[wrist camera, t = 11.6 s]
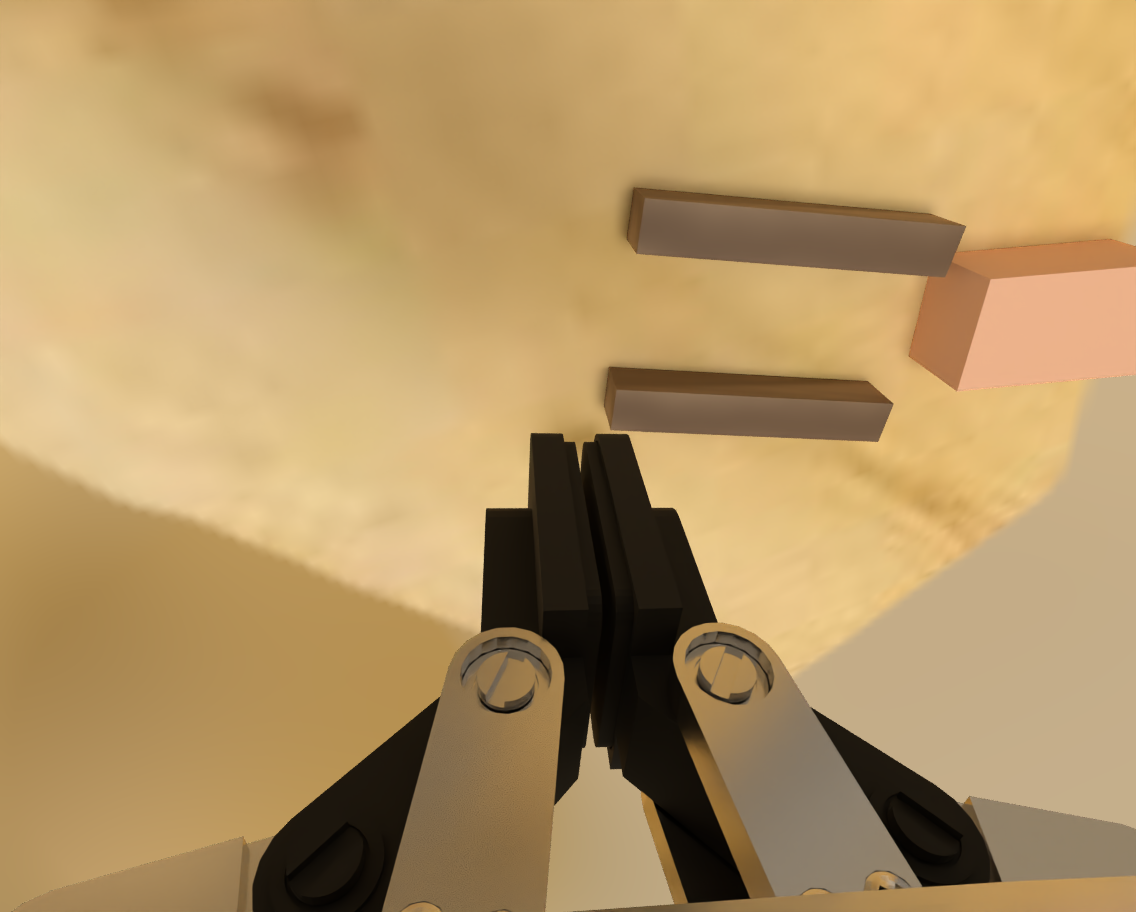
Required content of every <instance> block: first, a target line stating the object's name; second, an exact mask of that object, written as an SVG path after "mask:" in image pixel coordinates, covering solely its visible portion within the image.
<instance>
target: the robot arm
mask: <svg viewBox="0 0 1136 912" xmlns="http://www.w3.org/2000/svg"><path fill="white" fill-rule="evenodd" d="M590 714H591V721H592V730H593V738H594V743H595V746H596V747H607V750H608V757H609V763H610V769H622V774H623V777H624V778H626V779H627V780H628V781H629V782H631V783H632V784H633V785H634V786H636V787H637V788H638V789H639V790H640V791H641V798H642V804H643V809H644V813H645V816H646V819H647V822H648V825H649V828H650V831H651V834H652V837H653V840H654V843H655V846H656V850H657V853H658V855H659V859H660V862H661V865H662V868H663V871H664V874H665V877H666V880H667V883H668V886H669V889H670V892H671V895H672V898H673V902H674V904H673V905H660V906H659V905H658V906H645V907H631V908H618V909H605V910H589V911H575V912H1136V829H1134V828H1131V827H1129V826H1126V825H1123V824H1118V823H1113V822H1107V821H1102V820H1096V819H1091V818H1085V817H1080V816H1074V815H1069V814H1063V813H1058V812H1053V811H1047V810H1042V809H1036V808H1030V807H1026V806H1020V805H1015V804H1009V803H1004V802H998V801H993V800H988V799H982V798H977V797H971V796H969V797H968V799H967V800H966V801H965V802H964V803H959V802H956V801H955V800H954V799H953V798H952V797H950V796H949V795H947V794H946V793H945V792H944V791H942V790H941V789H940V788H938V787H937V786H936V785H934V784H933V783H931V782H930V781H928V780H926V779H925V778H923V777H922V776H920V775H918V774H917V773H915V772H914V771H912V770H910V769H909V768H907V767H906V766H904V765H902V764H901V763H899V762H898V761H896V760H894V759H893V758H891V757H890V756H888V755H886V754H885V753H883V752H882V751H880V750H878V749H877V748H875V747H874V746H872V745H870V744H869V743H867V742H866V741H864V740H862V739H861V738H859V737H857V736H856V735H854V734H853V733H851V732H850V731H848V730H846V729H845V728H843V727H842V726H840V725H838V724H837V723H835V722H834V721H832V720H830V719H829V718H827V717H826V716H824V715H822V714H821V713H819V712H818V711H816V710H815V709H813V708H811V707H810V706H809V704H808V703H807V701H806V700H805V698H804V696H803V695H802V693H801V691H800V690H799V688H798V687H797V685H796V683H795V682H794V680H793V679H792V677H791V675H790V674H789V672H788V671H787V669H786V667H785V666H784V664H783V663H782V661H781V659H780V658H779V656H778V655H777V654H776V653H775V652H774V650H773V649H772V648H771V647H770V646H769V644H767V643H766V642H765V641H763V640H762V639H761V638H759V637H758V636H757V635H755V634H754V633H752V632H749V631H747V630H745V629H743V628H741V627H739V626H734V625H730V624H725V623H718V622H717V619H716V617H715V614H714V611H713V608H712V606H711V603H710V600H709V597H708V595H707V592H706V589H705V586H704V584H703V581H702V578H701V576H700V573H699V570H698V567H697V565H696V562H695V559H694V556H693V554H692V551H691V548H690V545H689V543H688V540H687V537H686V535H685V532H684V529H683V526H682V524H681V521H680V518H679V516H678V514H677V512H676V510H675V509H673V508H651V504H650V501H649V498H648V495H647V492H646V488H645V485H644V482H643V479H642V476H641V473H640V469H639V466H638V463H637V460H636V457H635V453H634V450H633V447H632V444H631V441H630V438H629V435H627V434H596V435H595V439H594V442H584V444H583V450H582V461H581V472H580V468H579V462H578V456H577V450H576V445H575V442H564V438H563V434H553V433H531V438H530V463H529V493H528V508H486V522H485V546H484V570H483V594H482V618H481V633H479V634H478V635H476V636H474V637H472V638H471V639H469V640H467V641H466V642H465V643H464V644H463V645H462V646H461V647H460V648H459V649H458V650H457V652H456V653H455V654H454V657H453V659H452V661H451V663H450V665H449V667H448V671H447V674H446V678H445V682H444V685H443V689H442V693H441V696H440V697H439V698H438V699H437V700H435V701H434V702H433V703H432V704H430V705H429V706H428V707H427V708H426V709H424V710H423V711H422V712H421V713H420V714H418V715H417V716H416V717H415V718H414V719H413V720H411V721H410V722H409V723H407V724H406V725H405V726H404V727H403V728H401V729H400V730H399V731H398V732H396V733H395V734H394V735H393V736H392V737H391V738H389V739H388V740H387V741H386V742H384V743H383V744H382V745H381V746H380V747H378V748H377V749H376V750H375V751H373V752H372V753H371V754H370V755H368V756H367V757H366V758H365V759H364V760H362V761H361V762H360V763H359V764H358V765H357V766H355V767H354V768H353V769H352V770H350V771H349V772H348V773H347V774H346V775H344V776H343V777H342V778H341V779H339V780H338V781H337V782H336V783H334V784H333V785H332V786H331V787H330V788H329V789H327V790H326V791H325V792H324V793H323V794H321V795H320V796H319V797H317V798H316V799H315V800H314V801H313V802H312V803H310V804H309V805H308V806H307V807H305V808H304V809H303V810H302V811H300V812H299V813H298V814H297V815H296V816H294V817H293V818H292V819H291V820H290V821H289V822H288V823H287V824H286V825H285V826H284V827H283V828H282V829H281V830H280V831H279V832H278V833H277V834H276V835H275V836H272V837H269V838H266V839H262V840H259V841H255V842H251V843H248V844H247V843H246V841H245V839H244V837H239V838H236V839H232V840H229V841H225V842H222V843H218V844H214V845H211V846H207V847H204V848H201V849H197V850H193V851H190V852H186V853H183V854H179V855H175V856H172V857H168V858H165V859H161V860H158V861H154V862H151V863H147V864H144V865H140V866H137V867H133V868H129V869H126V870H122V871H119V872H115V873H112V874H108V875H105V876H101V877H98V878H94V879H91V880H87V881H83V882H80V883H76V884H73V885H69V886H66V887H62V888H59V889H55V890H52V891H49V892H47V893H45V894H43V895H40V896H38V897H36V898H34V899H31V900H29V901H27V902H24V903H22V904H21V905H20V906H18V907H17V908H16V909H14V910H13V911H12V912H545V908H546V896H547V884H548V872H549V859H550V848H551V835H552V824H553V812H554V805H555V804H556V803H557V802H558V801H559V800H560V799H561V797H562V796H563V795H564V794H565V793H566V792H567V791H568V789H569V788H570V787H571V786H572V785H573V783H574V782H575V781H576V780H577V779H578V775H579V767H580V759H581V751H582V748H584V747H585V746H586V739H587V732H588V724H589V717H590Z"/></svg>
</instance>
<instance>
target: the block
mask: <svg viewBox="0 0 1136 912" xmlns="http://www.w3.org/2000/svg"><path fill="white" fill-rule="evenodd" d="M909 357H911V358H912V359H913V360H915V361H916V362H918V363H919V364H920V365H922V366H923V367H924V368H926V369H927V370H929V371H930V372H931V373H933V374H934V375H935V376H937V377H938V378H940V379H941V380H942V381H944V382H945V383H946V384H948V385H949V386H951V387H952V388H953V389H955V390H956V391H965V390H976V389H987V388H998V387H1009V386H1019V385H1030V384H1041V383H1052V382H1063V381H1074V380H1084V379H1095V378H1106V377H1117V376H1128V375H1136V246H1133V245H1129V244H1126V243H1122V242H1119V241H1115V240H1112V239H1105V240H1094V241H1082V242H1070V243H1059V244H1047V245H1035V246H1024V247H1012V248H1000V249H989V250H977V251H965V252H955V255H954V257H953V260H952V262H951V265H950V267H949V270H948V272H947V274H946V277H932V276H928V280H927V284H926V288H925V292H924V296H923V300H922V304H921V308H920V312H919V316H918V320H917V324H916V329H915V333H914V337H913V341H912V345H911V349H910V353H909Z"/></svg>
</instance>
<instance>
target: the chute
mask: <svg viewBox="0 0 1136 912" xmlns="http://www.w3.org/2000/svg"><path fill="white" fill-rule="evenodd" d="M965 228H966V226H964V225H961V224H958V223H955V222H952V221H949V220H947V219H944V218H941V217H938V216H935V215H932V214H924V213H913V212H902V211H890V210H879V209H868V208H857V207H845V206H834V205H823V204H812V203H801V202H789V201H778V200H767V199H756V198H744V197H733V196H722V195H711V194H700V193H688V192H677V191H666V190H655V189H644V188H634V191H633V198H632V206H631V213H630V220H629V228H628V235H627V240H628V242H629V243H630V245H631V246H632V248H633V249H634V251H635V252H636V254H645V255H658V256H671V257H685V258H698V259H711V260H724V261H737V262H750V263H763V264H776V265H789V266H802V267H815V268H828V269H841V270H854V271H867V272H880V273H893V274H906V275H919V276H932V277H946V274H947V272H948V270H949V267H950V265H951V262H952V260H953V257H954V255H955V252H956V250H957V248H958V245H959V243H960V240H961V238H962V235H963V233H964V230H965ZM604 407H605V411H606V415H607V418H608V422H609V426H610V429H611V430H619V431H642V432H665V433H688V434H711V435H734V436H757V437H780V438H802V439H825V440H848V441H871V442H878V441H879V438H880V436H881V433H882V431H883V429H884V426H885V424H886V421H887V419H888V416H889V414H890V411H891V409H892V407H893V403H892V402H891V401H890V400H888V399H887V398H886V397H885V396H884V395H883V394H882V393H880V392H879V391H878V390H877V389H876V388H875V387H874V386H873V385H871V384H870V383H869V382H868V381H850V380H832V379H814V378H796V377H778V376H760V375H742V374H724V373H705V372H687V371H669V370H651V369H633V368H615V367H609V373H608V380H607V387H606V395H605V402H604Z"/></svg>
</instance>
